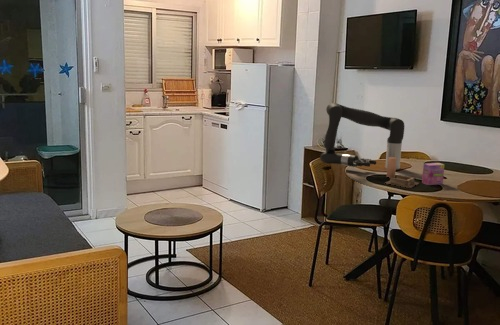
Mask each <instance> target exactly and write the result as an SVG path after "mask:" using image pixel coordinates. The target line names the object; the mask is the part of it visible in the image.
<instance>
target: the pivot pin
mask: <svg viewBox="0 0 500 325" xmlns="http://www.w3.org/2000/svg"><path fill="white" fill-rule="evenodd" d="M396 159H397V158H395V157H388V164H387V168H386V178H387V177H389V178H388V179H390V178H396V170H397V169H396Z"/></svg>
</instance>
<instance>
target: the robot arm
mask: <svg viewBox="0 0 500 325" xmlns="http://www.w3.org/2000/svg"><path fill="white" fill-rule="evenodd" d="M325 110H326V113H327V115H328V121H329V122H328V127H327V130H326V133H325V136H324V143H323V147H324V149H325V151H324V152H322V153H321V154H320V157H319V158H320V161H321V163H323V164H329V165H331V164H332V165H333V164H335V165H342V166H346V167H352V168H356V167H357V166H358V167H371V165H374V166H375V165H377V161H376V160H373V159H371V158H370V159H369V158H364V157H363V158H359V155H356V154H348V153H336V149H335V148H336V147H335V145H336V140H337V139H336V138H337V134H338V129H339V125H340V121H341V119H342V118H343V119H347V120H349V121H351V122H353V123H356V124H358V125H362V126H367V127H379V128H382V129H385V130H388V131H389V136H388V138H387V139H386V140H387V141H386V154H385V167H384V168H385V169H387V164H388V157H395V158H397V159H396V170H400V168H401V156H402V144H403V143H402V142H403V139H404V136H405V135H404V134H405V122H404V121H403V119H400V118H397V117H389V116H382V115H381V114H377V113H374V112H371V111H369V110H364V109H358V108H353V107H347V106H345V105H341V104H339V103H336V102H332V103H329V104H328V105H327V106H326V109H325Z"/></svg>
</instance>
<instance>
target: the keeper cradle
mask: <svg viewBox="0 0 500 325" xmlns="http://www.w3.org/2000/svg"><path fill="white" fill-rule="evenodd" d="M385 183H386V184H385V185H388V184H391V185H390V186H394V185H396V186H395V187H400V186H401V188H405V187H406V189H412V188H413V187H414V188H415V187H416V186H418V185H420V182H416V181H415V177H412V176H406V175H399V174H397V175H396V176H395V178H389V180H388V181H385ZM415 185H416V186H415Z"/></svg>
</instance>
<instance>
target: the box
mask: <svg viewBox="0 0 500 325" xmlns="http://www.w3.org/2000/svg"><path fill="white" fill-rule="evenodd" d="M445 165H446V164H444V163H440V162H431V163H430V162H429V163H428V162H427V163H423V165H422V166H423V168H422V175H421V176H422V178H421V183H422V184H424V185H427V186H432V185H433V186H435V185H443V184H444V174H445Z"/></svg>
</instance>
